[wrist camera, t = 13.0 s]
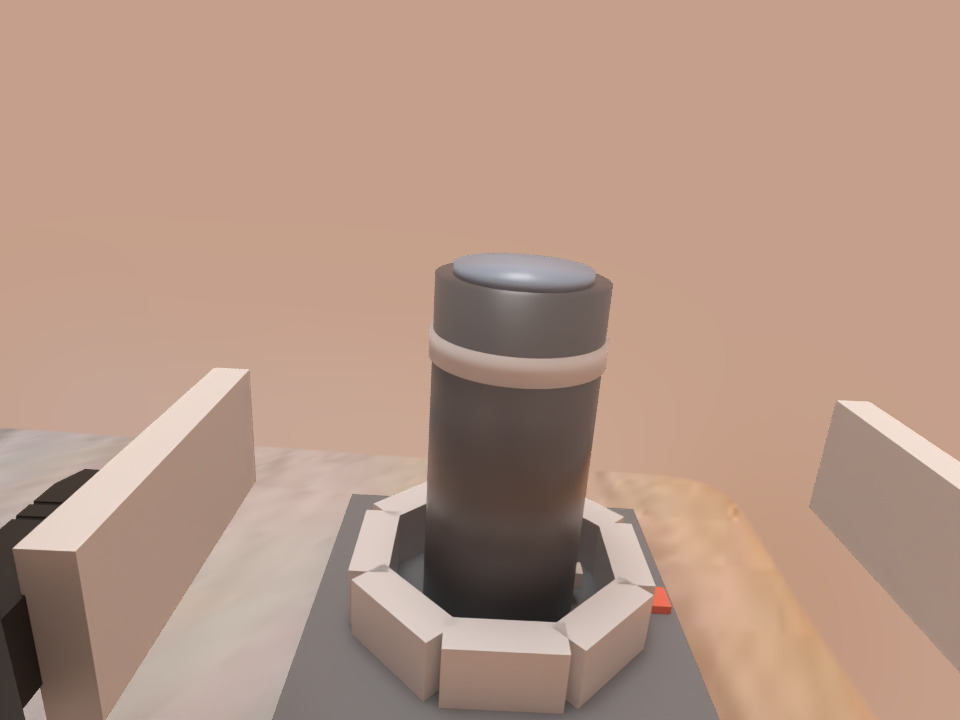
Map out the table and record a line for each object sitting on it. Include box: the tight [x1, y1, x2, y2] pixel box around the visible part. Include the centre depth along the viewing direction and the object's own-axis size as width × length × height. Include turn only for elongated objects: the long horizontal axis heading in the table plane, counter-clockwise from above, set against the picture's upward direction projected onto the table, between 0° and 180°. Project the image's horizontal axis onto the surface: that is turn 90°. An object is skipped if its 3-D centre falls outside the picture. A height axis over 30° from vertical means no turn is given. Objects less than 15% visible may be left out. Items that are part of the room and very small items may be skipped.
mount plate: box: [272, 482, 719, 720], centre depth 22 cm, size 12×12×3 cm
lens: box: [423, 253, 613, 622], centre depth 20 cm, size 5×5×11 cm
